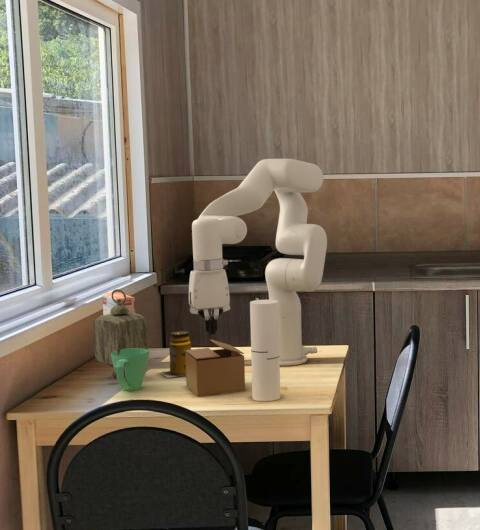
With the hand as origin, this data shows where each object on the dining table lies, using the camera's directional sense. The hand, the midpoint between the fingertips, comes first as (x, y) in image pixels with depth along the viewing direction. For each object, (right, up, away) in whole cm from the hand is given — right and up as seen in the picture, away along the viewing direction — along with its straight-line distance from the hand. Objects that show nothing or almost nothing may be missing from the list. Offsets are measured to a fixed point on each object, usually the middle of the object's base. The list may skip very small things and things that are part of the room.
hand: (211, 333), depth 236 cm
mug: (-22, -16, 0) cm, 27 cm away
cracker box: (-35, -12, +34) cm, 50 cm away
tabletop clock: (-29, -14, +17) cm, 36 cm away
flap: (+4, -4, +2) cm, 6 cm away
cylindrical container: (+16, -16, -8) cm, 24 cm away
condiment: (-14, -13, +19) cm, 27 cm away
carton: (+1, -15, +2) cm, 15 cm away
